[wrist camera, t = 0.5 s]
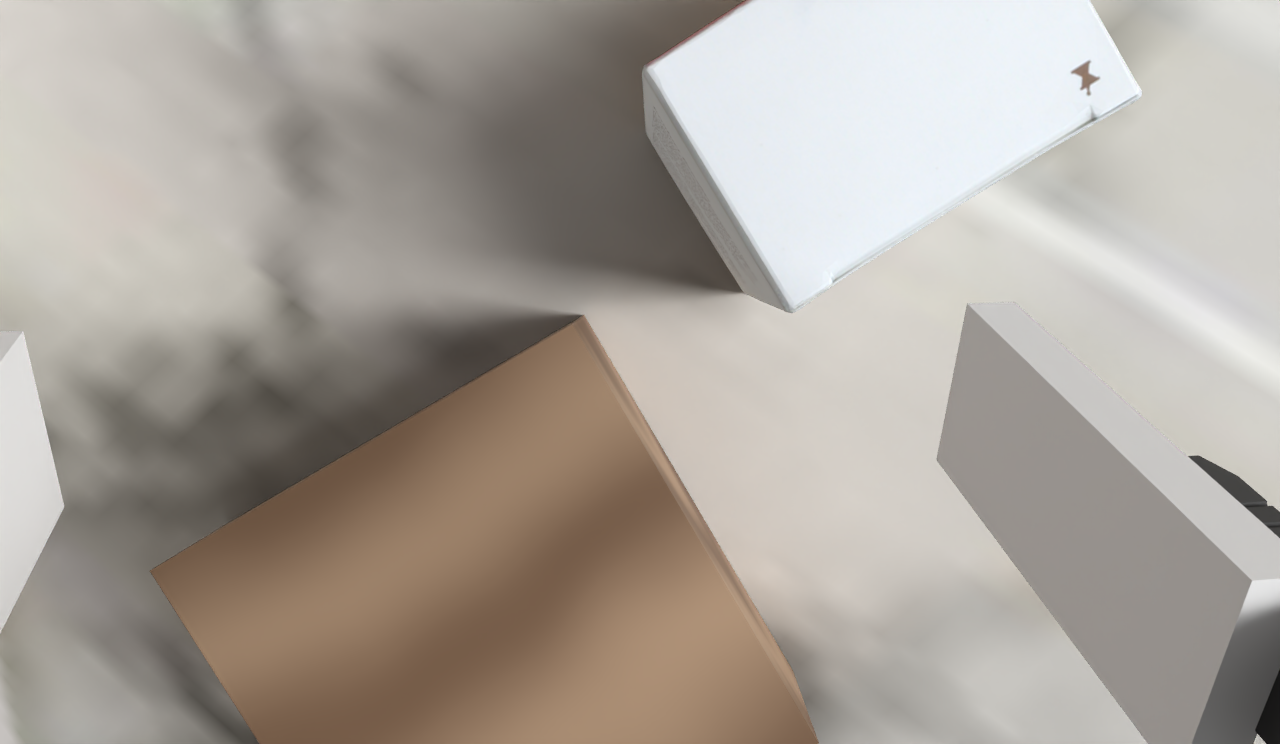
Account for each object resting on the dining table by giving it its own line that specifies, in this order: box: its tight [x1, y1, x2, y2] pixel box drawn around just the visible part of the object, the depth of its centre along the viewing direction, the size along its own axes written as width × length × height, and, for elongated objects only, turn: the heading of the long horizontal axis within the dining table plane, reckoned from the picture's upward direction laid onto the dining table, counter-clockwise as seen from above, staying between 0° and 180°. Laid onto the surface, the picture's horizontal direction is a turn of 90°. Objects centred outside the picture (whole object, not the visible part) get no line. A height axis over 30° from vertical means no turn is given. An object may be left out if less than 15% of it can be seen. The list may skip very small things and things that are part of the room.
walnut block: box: [150, 315, 819, 744], centre depth 30 cm, size 12×12×5 cm
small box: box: [642, 0, 1142, 313], centre depth 26 cm, size 8×6×10 cm
